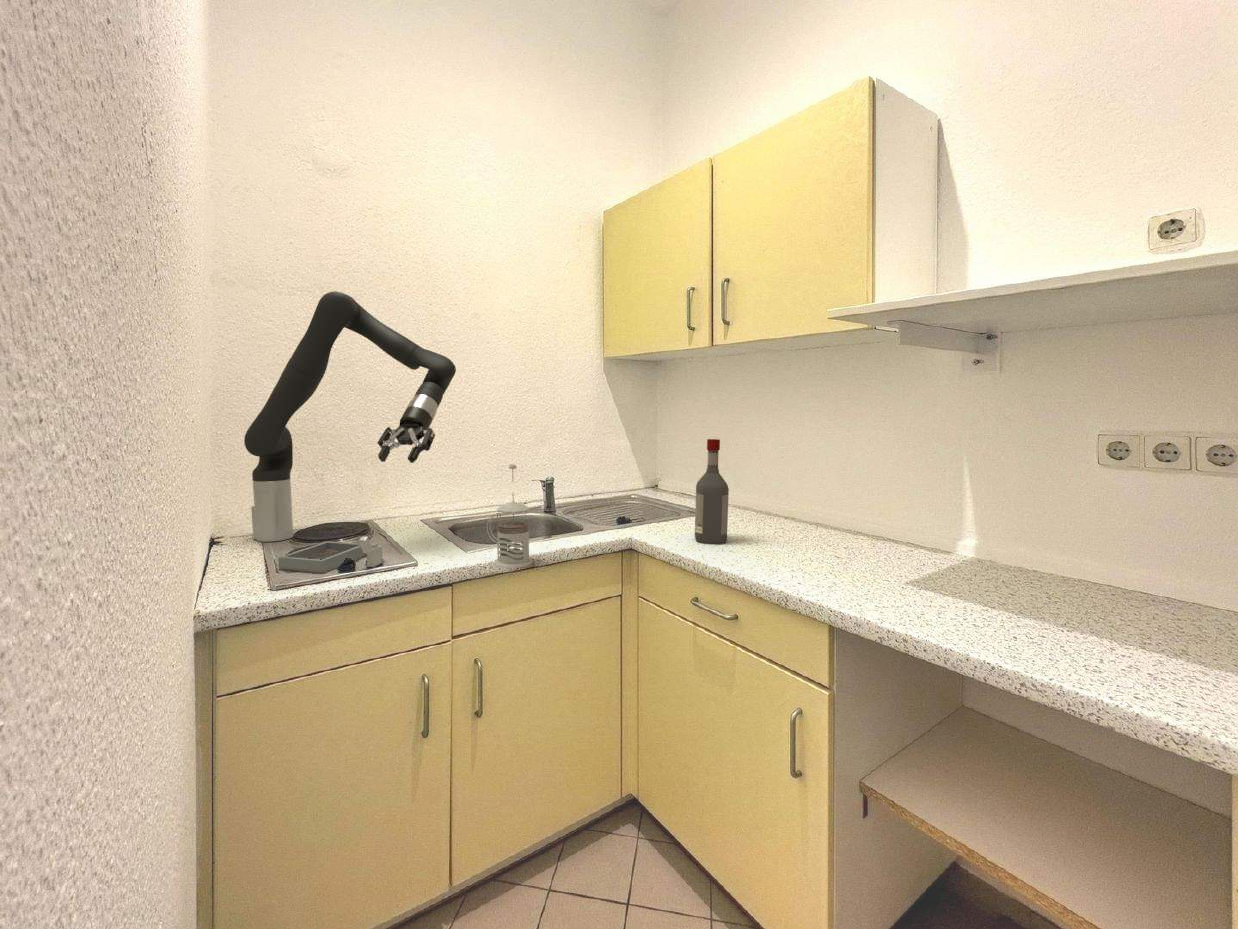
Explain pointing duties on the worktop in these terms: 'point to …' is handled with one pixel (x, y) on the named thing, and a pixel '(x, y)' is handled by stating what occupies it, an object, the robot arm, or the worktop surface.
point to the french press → (512, 536)
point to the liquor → (711, 501)
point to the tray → (302, 564)
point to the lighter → (371, 552)
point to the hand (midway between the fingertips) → (395, 460)
